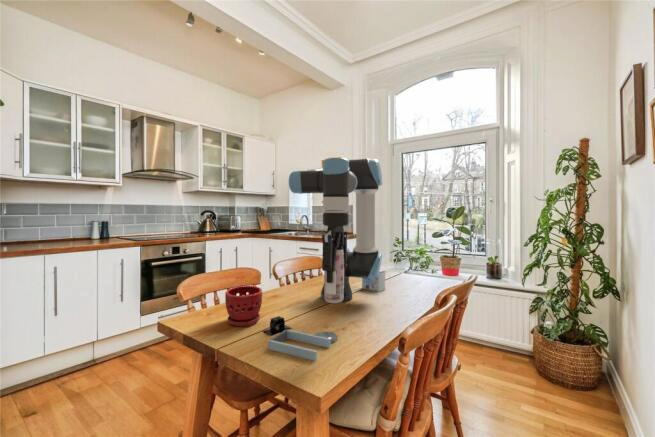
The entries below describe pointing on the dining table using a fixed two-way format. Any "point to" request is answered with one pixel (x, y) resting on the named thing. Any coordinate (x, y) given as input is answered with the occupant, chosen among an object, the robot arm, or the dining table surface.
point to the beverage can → (339, 280)
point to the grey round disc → (328, 336)
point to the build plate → (276, 326)
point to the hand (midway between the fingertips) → (335, 290)
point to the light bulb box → (375, 282)
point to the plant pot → (243, 305)
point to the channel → (296, 350)
